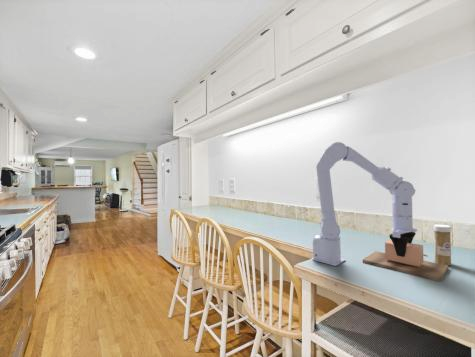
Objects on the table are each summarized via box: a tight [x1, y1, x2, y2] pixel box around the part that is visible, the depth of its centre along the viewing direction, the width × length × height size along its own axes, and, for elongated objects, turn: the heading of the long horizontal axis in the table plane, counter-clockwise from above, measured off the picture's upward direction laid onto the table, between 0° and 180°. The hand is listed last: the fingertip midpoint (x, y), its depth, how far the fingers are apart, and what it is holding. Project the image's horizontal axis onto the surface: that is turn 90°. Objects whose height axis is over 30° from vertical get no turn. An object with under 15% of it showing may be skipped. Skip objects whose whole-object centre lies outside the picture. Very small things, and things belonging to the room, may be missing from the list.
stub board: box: [362, 251, 449, 282], centre depth 83 cm, size 22×13×4 cm, turn 41°
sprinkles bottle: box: [433, 224, 452, 267], centre depth 84 cm, size 5×5×14 cm
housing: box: [384, 239, 424, 267], centre depth 83 cm, size 10×5×6 cm, turn 41°
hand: (403, 254), depth 83 cm, fingers closed on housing, 5 cm apart
